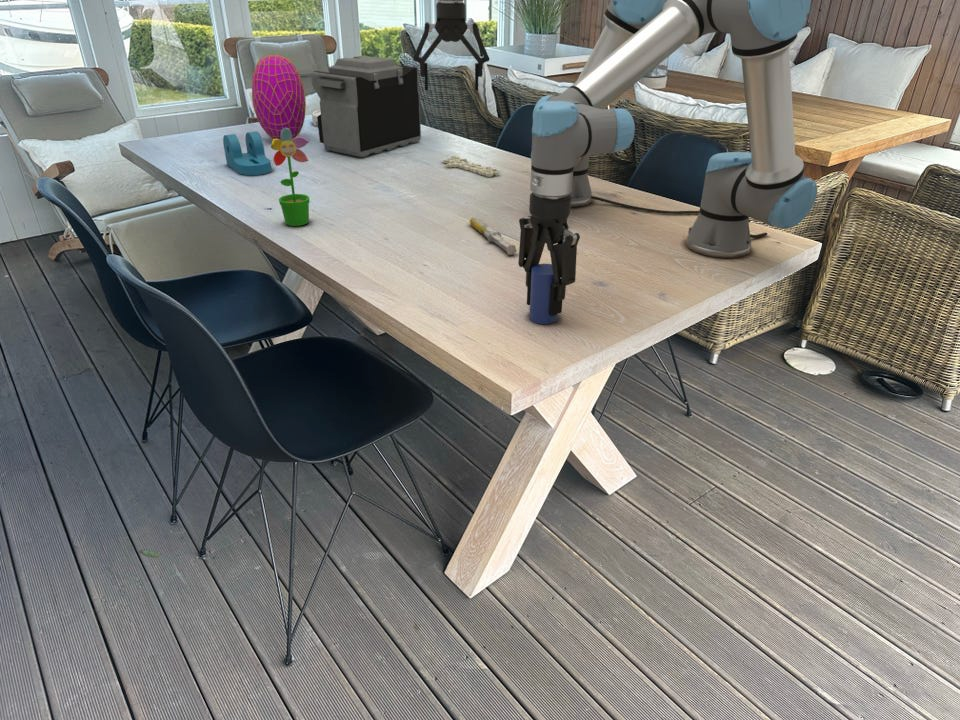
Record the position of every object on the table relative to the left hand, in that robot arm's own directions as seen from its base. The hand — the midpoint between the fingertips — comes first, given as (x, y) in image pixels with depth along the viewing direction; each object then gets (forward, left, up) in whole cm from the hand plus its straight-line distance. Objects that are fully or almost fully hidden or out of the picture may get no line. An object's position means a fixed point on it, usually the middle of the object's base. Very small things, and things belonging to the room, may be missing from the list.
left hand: (451, 89), depth 187 cm
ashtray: (+91, -74, -31) cm, 121 cm away
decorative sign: (+11, -34, -31) cm, 47 cm away
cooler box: (+57, -45, -31) cm, 79 cm away
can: (-51, +60, -31) cm, 84 cm away
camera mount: (+75, 0, -31) cm, 81 cm away
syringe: (-24, +24, -31) cm, 46 cm away
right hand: (-51, +60, -28) cm, 84 cm away
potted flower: (+28, +36, -31) cm, 55 cm away
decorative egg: (+92, -37, -31) cm, 104 cm away
